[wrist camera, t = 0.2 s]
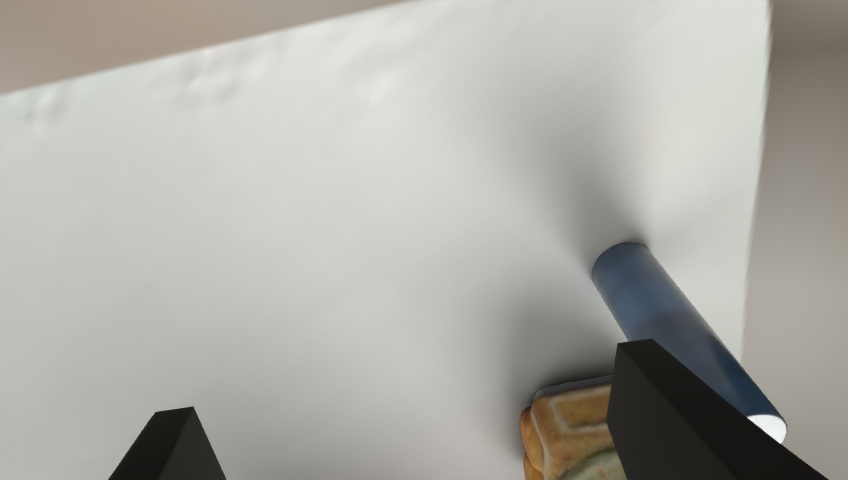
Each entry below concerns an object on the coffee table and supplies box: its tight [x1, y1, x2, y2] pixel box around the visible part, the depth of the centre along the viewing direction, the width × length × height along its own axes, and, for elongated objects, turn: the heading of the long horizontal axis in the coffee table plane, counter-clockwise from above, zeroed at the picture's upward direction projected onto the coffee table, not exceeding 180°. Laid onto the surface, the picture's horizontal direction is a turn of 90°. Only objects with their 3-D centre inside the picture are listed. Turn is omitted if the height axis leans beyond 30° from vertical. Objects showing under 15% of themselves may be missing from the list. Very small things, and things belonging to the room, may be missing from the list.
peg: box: [592, 243, 787, 444], centre depth 19 cm, size 2×2×8 cm
